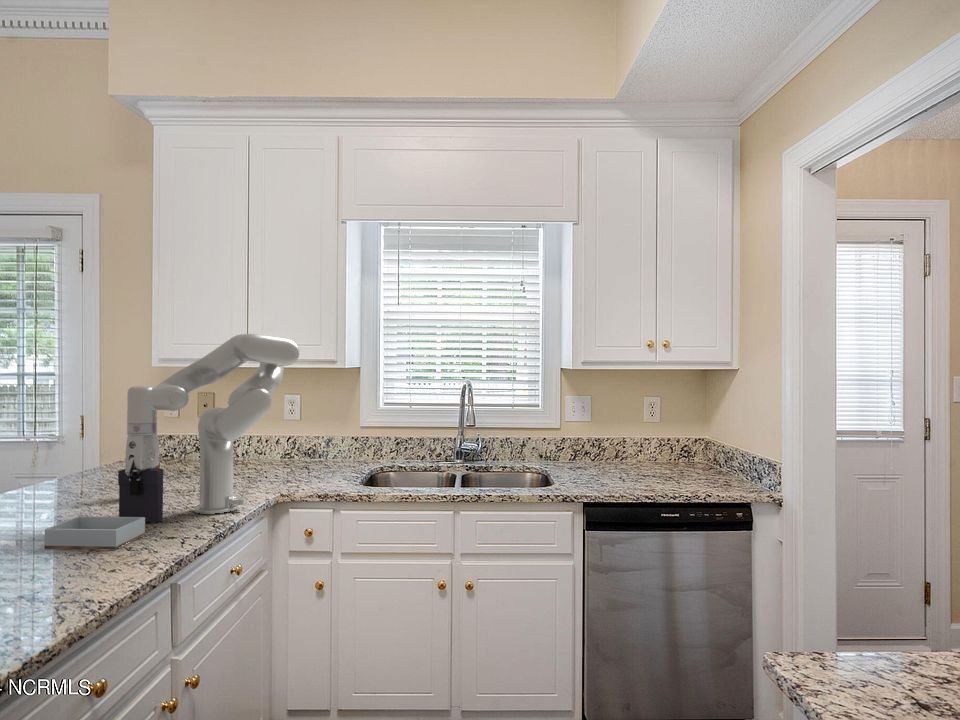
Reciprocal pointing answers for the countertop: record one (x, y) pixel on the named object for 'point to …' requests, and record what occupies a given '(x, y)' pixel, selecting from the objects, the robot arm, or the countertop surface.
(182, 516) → the countertop surface
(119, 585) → the countertop surface
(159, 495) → the tall charcoal block
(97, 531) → the grey tray
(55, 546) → the pen board
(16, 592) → the countertop surface
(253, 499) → the countertop surface
